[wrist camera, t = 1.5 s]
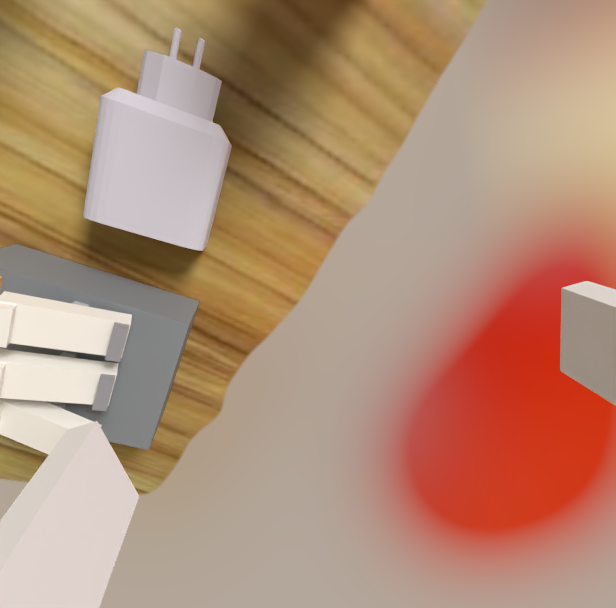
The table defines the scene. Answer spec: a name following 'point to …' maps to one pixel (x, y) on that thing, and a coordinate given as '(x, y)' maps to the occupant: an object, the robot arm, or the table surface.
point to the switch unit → (139, 345)
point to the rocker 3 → (36, 422)
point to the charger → (160, 153)
